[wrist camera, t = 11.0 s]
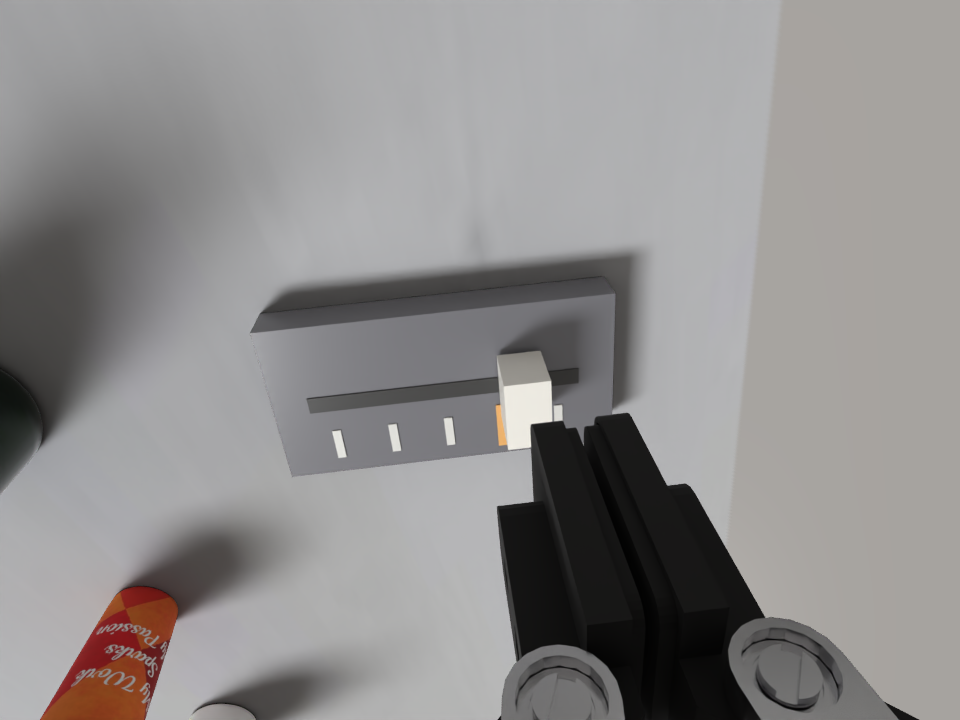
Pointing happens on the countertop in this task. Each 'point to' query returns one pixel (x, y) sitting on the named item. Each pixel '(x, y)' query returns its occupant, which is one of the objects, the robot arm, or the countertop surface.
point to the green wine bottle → (16, 429)
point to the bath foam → (222, 713)
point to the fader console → (429, 371)
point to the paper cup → (119, 660)
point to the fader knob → (523, 395)
